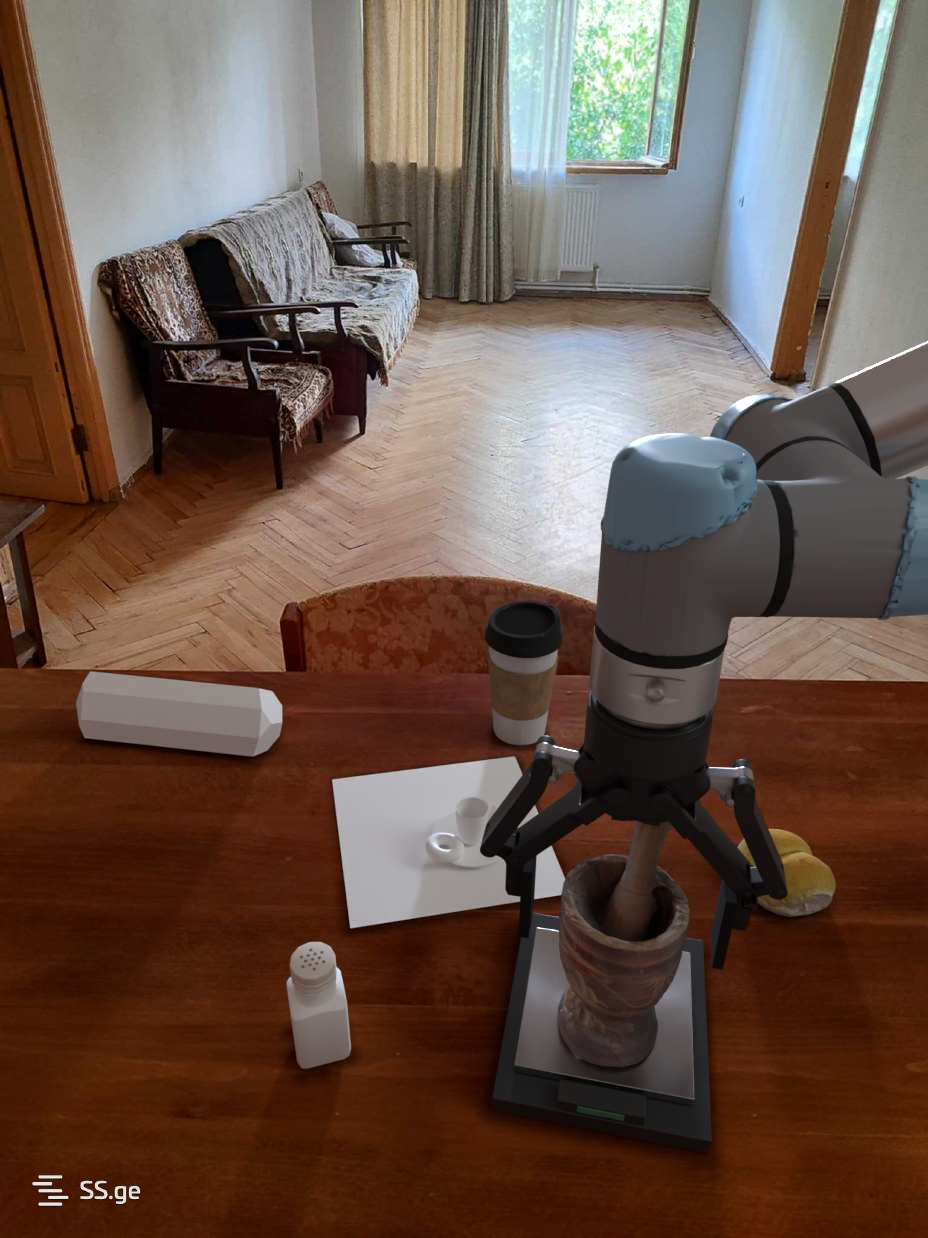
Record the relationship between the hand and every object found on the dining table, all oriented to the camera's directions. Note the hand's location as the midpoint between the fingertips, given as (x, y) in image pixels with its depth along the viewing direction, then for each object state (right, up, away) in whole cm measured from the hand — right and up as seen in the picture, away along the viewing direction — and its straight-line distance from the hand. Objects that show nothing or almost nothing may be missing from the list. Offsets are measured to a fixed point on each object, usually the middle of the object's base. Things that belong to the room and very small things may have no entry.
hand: (619, 938), depth 64 cm
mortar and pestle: (0, -7, +4) cm, 8 cm away
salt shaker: (-22, -9, +3) cm, 24 cm away
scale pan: (0, -7, +4) cm, 8 cm away
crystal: (-43, +10, +37) cm, 57 cm away
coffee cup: (-5, +10, +38) cm, 39 cm away
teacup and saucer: (-13, +2, +23) cm, 27 cm away
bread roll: (+18, -1, +18) cm, 25 cm away
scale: (0, -8, +5) cm, 10 cm away
